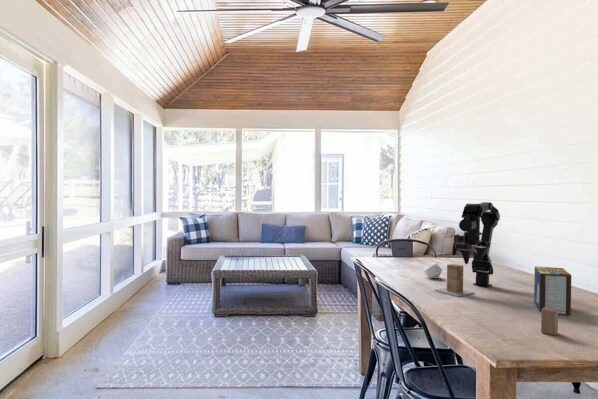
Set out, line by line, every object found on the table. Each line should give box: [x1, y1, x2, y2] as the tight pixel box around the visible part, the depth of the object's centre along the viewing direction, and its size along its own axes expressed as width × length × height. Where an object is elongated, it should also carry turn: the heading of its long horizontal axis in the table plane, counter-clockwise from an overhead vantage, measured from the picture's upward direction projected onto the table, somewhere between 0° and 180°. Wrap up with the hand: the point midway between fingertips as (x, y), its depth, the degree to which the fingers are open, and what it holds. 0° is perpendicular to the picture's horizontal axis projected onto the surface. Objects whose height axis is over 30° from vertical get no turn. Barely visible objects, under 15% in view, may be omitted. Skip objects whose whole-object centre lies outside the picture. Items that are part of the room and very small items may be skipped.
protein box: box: [533, 265, 572, 316], centre depth 157 cm, size 10×15×16 cm
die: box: [423, 262, 443, 279], centre depth 212 cm, size 8×9×10 cm
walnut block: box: [446, 263, 464, 293], centre depth 182 cm, size 5×5×12 cm
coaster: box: [435, 287, 476, 298], centre depth 182 cm, size 12×12×1 cm
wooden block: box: [540, 307, 559, 336], centre depth 129 cm, size 4×4×8 cm
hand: (472, 263), depth 185 cm, fingers open, 9 cm apart
